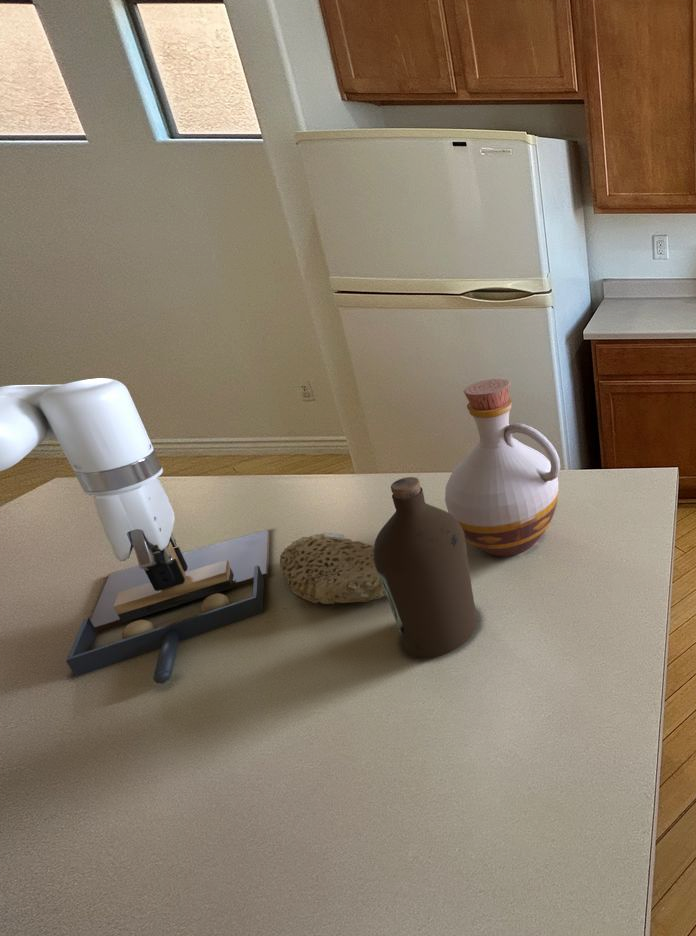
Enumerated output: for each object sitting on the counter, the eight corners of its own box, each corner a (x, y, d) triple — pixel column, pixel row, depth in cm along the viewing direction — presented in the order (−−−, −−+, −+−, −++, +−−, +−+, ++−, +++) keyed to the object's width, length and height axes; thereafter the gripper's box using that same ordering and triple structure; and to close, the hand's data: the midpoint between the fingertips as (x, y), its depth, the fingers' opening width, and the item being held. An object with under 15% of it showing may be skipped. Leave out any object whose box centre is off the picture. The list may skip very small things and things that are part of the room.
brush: (233, 574, 86) (214, 527, 83) (232, 587, 84) (211, 539, 80) (126, 608, 80) (100, 558, 76) (121, 623, 77) (94, 572, 74)
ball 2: (197, 594, 79) (205, 604, 81) (198, 612, 78) (205, 622, 80) (224, 586, 81) (231, 596, 83) (225, 603, 79) (232, 613, 81)
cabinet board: (89, 636, 77) (85, 630, 76) (112, 579, 87) (109, 573, 87) (269, 579, 88) (266, 573, 87) (270, 534, 98) (268, 528, 98)
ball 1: (121, 620, 75) (129, 637, 76) (115, 634, 73) (124, 651, 74) (151, 611, 77) (158, 628, 78) (147, 625, 75) (154, 642, 76)
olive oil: (481, 597, 85) (452, 455, 75) (483, 649, 76) (451, 496, 66) (403, 617, 81) (361, 470, 71) (396, 675, 72) (347, 516, 62)
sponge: (277, 587, 88) (309, 631, 75) (271, 540, 87) (303, 576, 74) (370, 560, 98) (413, 595, 84) (366, 518, 97) (409, 546, 83)
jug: (589, 519, 103) (575, 370, 92) (545, 586, 87) (521, 415, 76) (493, 508, 107) (468, 361, 95) (434, 569, 90) (394, 402, 79)
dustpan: (94, 636, 77) (83, 618, 76) (265, 581, 87) (258, 564, 86) (56, 732, 64) (43, 713, 63) (261, 655, 74) (254, 636, 73)
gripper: (95, 454, 77) (146, 559, 84) (61, 509, 65) (125, 626, 72) (167, 440, 81) (211, 541, 88) (148, 489, 69) (200, 601, 77)
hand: (171, 578), depth 80 cm, fingers closed on brush, 2 cm apart
